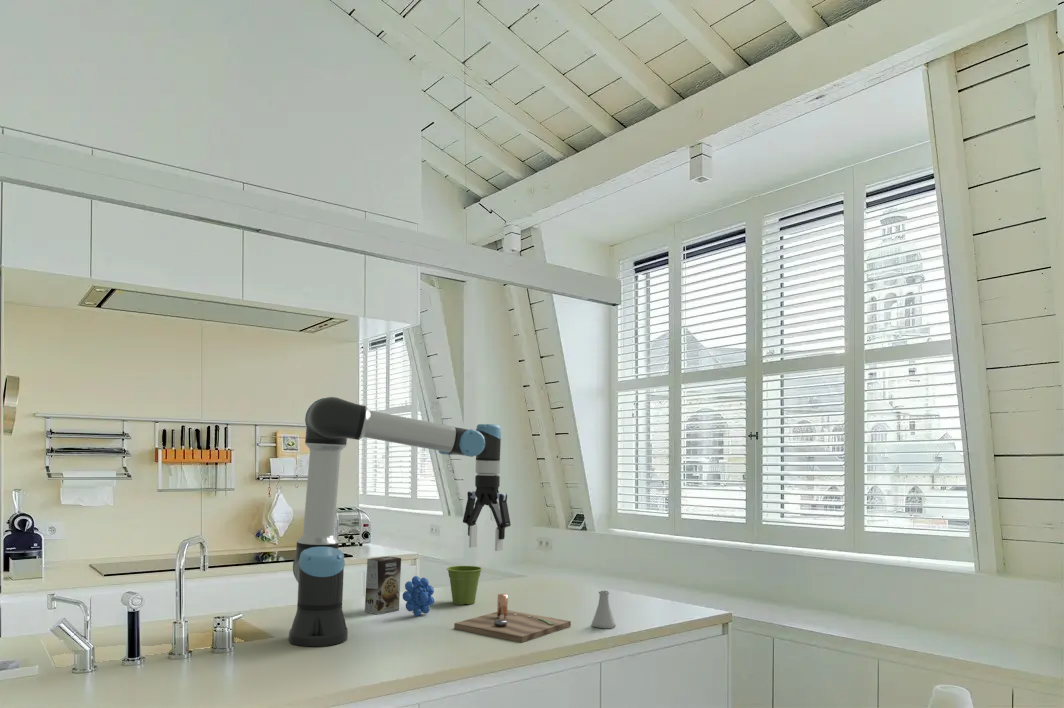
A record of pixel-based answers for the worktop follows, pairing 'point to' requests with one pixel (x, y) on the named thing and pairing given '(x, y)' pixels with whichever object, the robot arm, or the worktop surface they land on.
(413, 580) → the grapes
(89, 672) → the worktop surface
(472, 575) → the plant pot
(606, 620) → the flask
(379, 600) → the coffee box
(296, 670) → the worktop surface
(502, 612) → the crank handle
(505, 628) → the dial board
